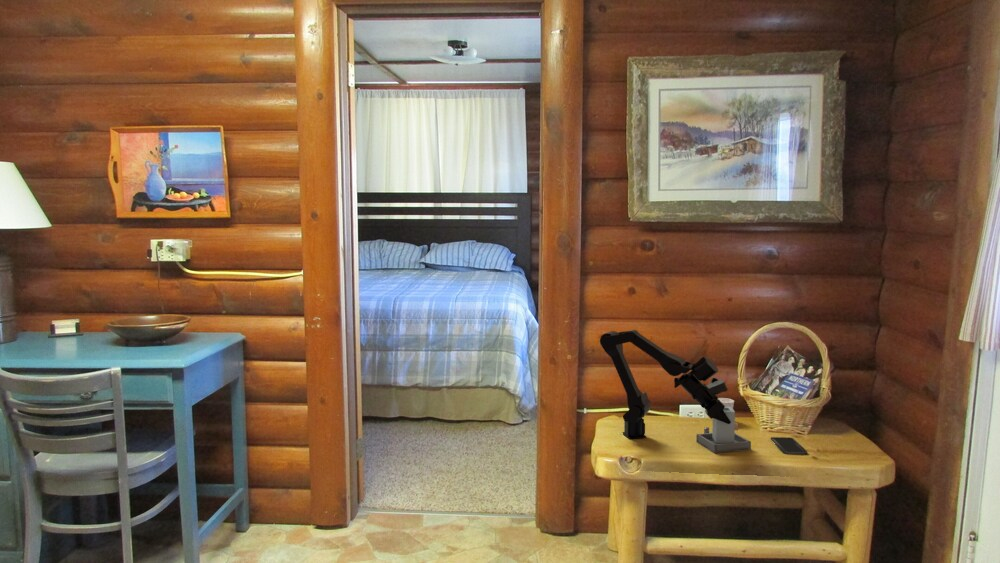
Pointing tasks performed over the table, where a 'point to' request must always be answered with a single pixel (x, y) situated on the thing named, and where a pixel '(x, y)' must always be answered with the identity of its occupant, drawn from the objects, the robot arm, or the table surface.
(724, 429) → the sleeve
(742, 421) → the table surface
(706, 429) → the grey metal capsule
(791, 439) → the phone
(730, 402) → the cup
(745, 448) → the tray
